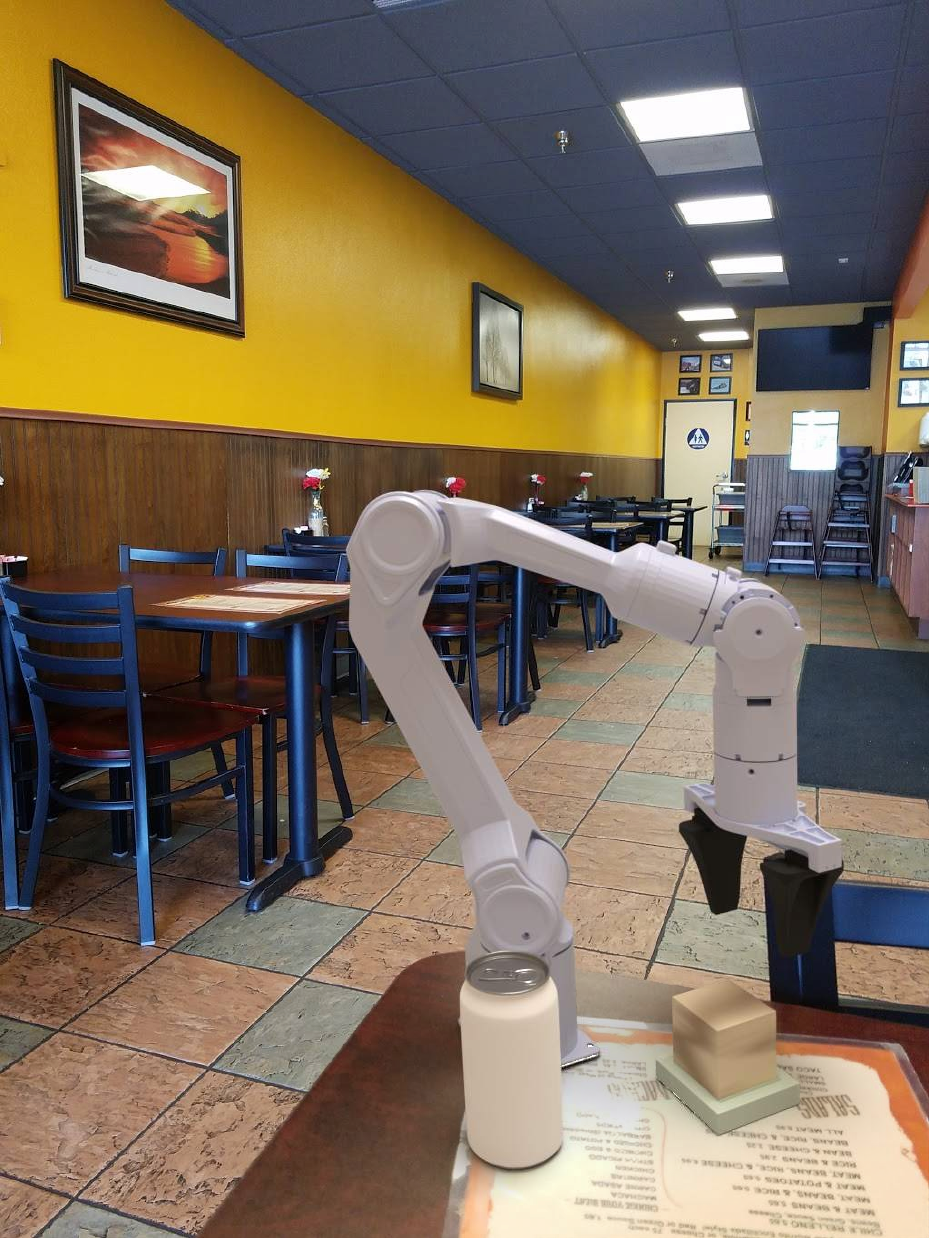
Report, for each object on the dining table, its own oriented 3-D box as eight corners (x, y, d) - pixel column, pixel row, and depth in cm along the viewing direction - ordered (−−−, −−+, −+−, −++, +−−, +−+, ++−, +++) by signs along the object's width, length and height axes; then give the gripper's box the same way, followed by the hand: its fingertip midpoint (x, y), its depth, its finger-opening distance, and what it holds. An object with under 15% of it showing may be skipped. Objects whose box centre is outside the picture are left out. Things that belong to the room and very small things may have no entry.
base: (656, 1077, 69) (655, 1058, 69) (732, 1050, 72) (732, 1031, 72) (718, 1135, 63) (717, 1113, 63) (800, 1103, 66) (799, 1082, 66)
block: (673, 1061, 69) (672, 996, 68) (729, 1041, 71) (728, 978, 70) (718, 1100, 64) (717, 1031, 63) (776, 1078, 66) (776, 1011, 65)
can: (558, 1178, 60) (551, 1000, 58) (458, 1168, 61) (448, 993, 60) (568, 1111, 66) (562, 949, 65) (477, 1104, 68) (468, 944, 66)
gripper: (876, 766, 63) (876, 959, 65) (733, 722, 76) (736, 883, 78) (793, 785, 60) (795, 986, 62) (659, 735, 74) (664, 902, 75)
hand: (757, 930), depth 70 cm, fingers open, 7 cm apart
